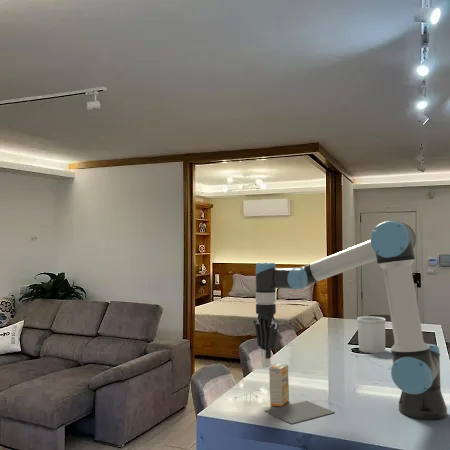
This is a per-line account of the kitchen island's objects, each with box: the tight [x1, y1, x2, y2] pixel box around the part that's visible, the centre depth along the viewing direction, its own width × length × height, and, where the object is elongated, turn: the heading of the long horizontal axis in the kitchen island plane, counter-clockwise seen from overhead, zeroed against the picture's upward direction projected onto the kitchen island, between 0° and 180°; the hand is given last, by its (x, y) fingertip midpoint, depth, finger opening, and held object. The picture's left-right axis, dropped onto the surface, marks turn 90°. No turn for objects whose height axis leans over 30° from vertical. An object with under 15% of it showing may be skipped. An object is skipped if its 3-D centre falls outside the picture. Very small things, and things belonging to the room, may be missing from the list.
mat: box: [264, 400, 335, 425], centre depth 157 cm, size 14×19×1 cm
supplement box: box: [268, 363, 290, 407], centre depth 166 cm, size 8×5×13 cm, turn 155°
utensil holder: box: [356, 315, 386, 354], centre depth 252 cm, size 15×15×18 cm
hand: (266, 366), depth 173 cm, fingers closed
